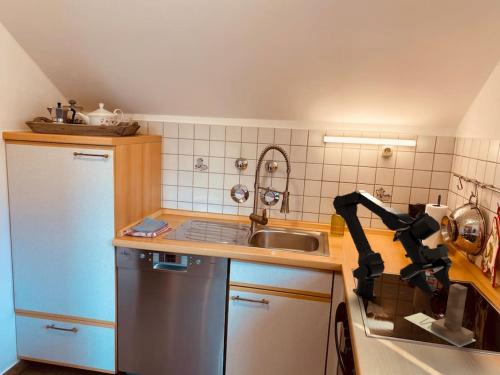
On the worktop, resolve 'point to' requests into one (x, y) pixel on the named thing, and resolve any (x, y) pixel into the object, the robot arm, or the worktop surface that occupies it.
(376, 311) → the shard
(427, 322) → the board
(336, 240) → the worktop surface
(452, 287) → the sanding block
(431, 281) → the supplement bottle
